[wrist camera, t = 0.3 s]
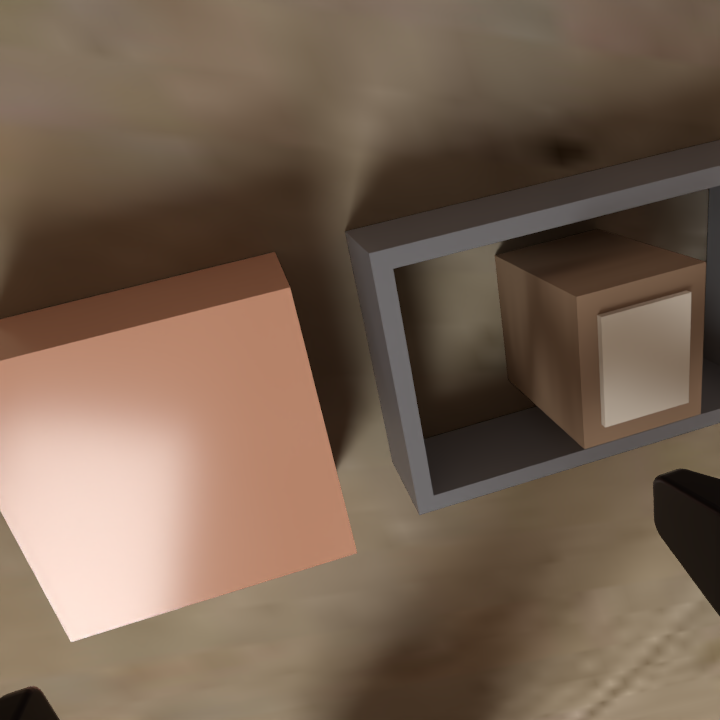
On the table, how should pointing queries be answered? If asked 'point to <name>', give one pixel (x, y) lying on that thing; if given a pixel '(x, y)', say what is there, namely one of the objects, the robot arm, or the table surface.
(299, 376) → the terracotta stand
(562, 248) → the walnut box
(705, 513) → the robot arm
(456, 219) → the charcoal bin
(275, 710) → the table surface
